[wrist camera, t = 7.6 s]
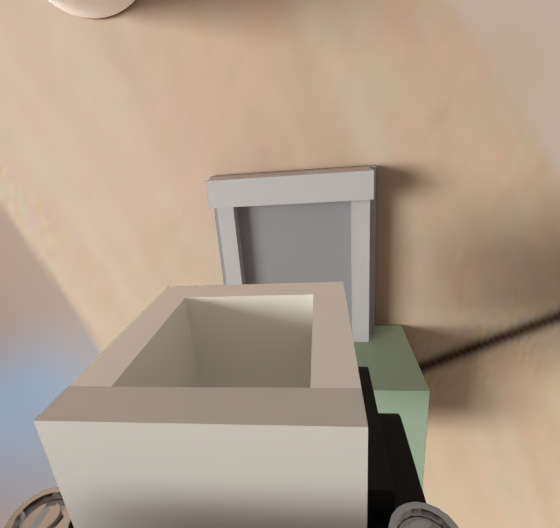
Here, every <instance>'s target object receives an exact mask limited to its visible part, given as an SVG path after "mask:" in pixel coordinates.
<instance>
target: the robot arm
mask: <svg viewBox="0 0 560 528" xmlns="http://www.w3.org/2000/svg"><path fill="white" fill-rule="evenodd" d="M358 371H359V377H360V383H361V388H362V394H363V400H364V406H365V412H366V417H367V423H368V490H367V528H458V526H457V525H456V523H455V522H454V521H453V520H452V519H451V518H450V517H449V516H448V515H447V514H445V513H444V512H443V511H441V510H440V509H439V508H437V507H434V506H432V505H430V504H427V503H426V501H425V497H424V494H423V491H422V487H421V484H420V480H419V477H418V474H417V470H416V467H415V463H414V460H413V457H412V453H411V450H410V446H409V443H408V440H407V436H406V433H405V429H404V426H403V423H402V419H401V417H400V415H399V413H378V410H377V405H376V401H375V396H374V391H373V387H372V382H371V377H370V373H369V368H368V367H358ZM4 528H74V527H73V524H72V522H71V519H70V516H69V514H68V511H67V508H66V506H65V503H64V500H63V498H62V495H61V493H60V490H59V487H54V488H50V489H47V490H44V491H42V492H40V493H38V494H36V495H34V496H33V497H31V498H30V499H29V500H27V501H26V502H25V503H23V504H22V505H21V506H20V507H19V508H18V509H17V510H16V511H15V512H14V513H13V515H12V516H11V518H10V519H9V521H8V522H7V524H6V526H5V527H4Z"/></svg>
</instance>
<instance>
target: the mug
mask: <svg viewBox="0 0 560 528" xmlns="http://www.w3.org/2000/svg"><path fill="white" fill-rule="evenodd" d="M48 1H49V2H51V3H52V4H53V5H55V6H56V7H58V8H60V9H61V10H63V11H65V12H67V13H70V14H72V15H75V16H79V17H83V18H91V19H97V18H105V17H109V16H112V15H115V14H117V13H119V12H121V11H123V10H124V9H126V8H127V7H129V6H130V5H131V4H132V3H133V2H134V1H135V0H48Z"/></svg>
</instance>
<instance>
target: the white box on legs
mask: <svg viewBox="0 0 560 528" xmlns="http://www.w3.org/2000/svg"><path fill="white" fill-rule="evenodd" d="M34 423H35V426H36V429H37V431H38V434H39V437H40V439H41V442H42V444H43V447H44V450H45V453H46V455H47V458H48V461H49V463H50V466H51V469H52V471H53V474H54V477H55V479H56V482H57V485H58V487H59V490H60V493H61V495H62V498H63V500H64V503H65V506H66V508H67V511H68V514H69V516H70V519H71V522H72V524H73V527H74V528H367V490H368V423H367V417H366V412H365V406H364V400H363V394H362V388H361V383H360V377H359V371H358V365H357V359H356V353H355V348H354V342H353V336H352V330H351V324H350V319H349V313H348V307H347V301H346V295H345V290H344V284H343V282H311V283H277V284H242V285H207V286H173V287H167V288H166V289H165V290H164V291H163V292H162V293H161V294H160V295H159V296H158V297H157V298H156V299H155V300H154V301H153V302H152V303H151V304H150V305H149V306H148V307H147V308H146V309H145V310H144V311H143V312H142V313H141V314H140V315H139V316H138V317H137V318H136V319H135V320H134V321H133V322H132V323H131V324H130V325H129V326H128V327H127V328H126V329H125V330H124V331H123V332H122V333H121V334H120V335H119V336H118V337H117V338H116V339H115V340H114V341H113V342H112V343H111V344H110V345H109V346H108V347H107V348H106V349H105V350H104V351H103V352H102V353H101V354H100V355H99V356H98V357H97V358H96V359H95V360H94V361H93V362H92V363H91V364H90V365H89V366H88V367H87V368H86V369H85V370H84V371H83V372H82V373H81V374H80V375H79V376H78V377H77V378H76V379H75V380H74V381H73V382H72V383H71V384H70V385H69V386H68V387H67V388H66V389H65V390H64V391H63V392H62V393H61V394H60V395H59V396H58V397H57V398H56V399H55V400H54V401H53V402H52V403H51V404H50V405H49V406H48V407H47V408H46V409H45V410H44V411H43V412H42V413H41V414H40V415H39V416H38V417H37V418H36V419H35V420H34Z"/></svg>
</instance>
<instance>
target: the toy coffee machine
mask: <svg viewBox="0 0 560 528" xmlns="http://www.w3.org/2000/svg"><path fill="white" fill-rule="evenodd" d="M205 183H206V190H207V197H208V205H209V208H214V212H215V220H216V227H217V235H218V242H219V250H220V258H221V265H222V273H223V280H224V285H242V284H277V283H311V282H343V284H344V290H345V295H346V301H347V307H348V313H349V319H350V324H351V330H352V336H353V342H354V348H355V353H356V359H357V365H358V367H368V368H369V373H370V377H371V382H372V387H373V391H374V396H375V401H376V405H377V410H378V413H399V415H400V417H401V419H402V423H403V426H404V429H405V433H406V436H407V440H408V443H409V446H410V450H411V453H412V457H413V460H414V463H415V467H416V470H417V474H418V477H419V480H420V484H421V487H422V489H423V476H424V462H425V449H426V436H427V423H428V409H429V396H430V390H429V388H428V385H427V383H426V381H425V379H424V376H423V374H422V372H421V369H420V367H419V365H418V362H417V360H416V358H415V355H414V353H413V351H412V349H411V346H410V344H409V342H408V339H407V337H406V335H405V332H404V330H403V328H402V326H401V325H375V265H376V197H377V166H375V165H366V166H351V167H336V168H321V169H306V170H291V171H276V172H261V173H246V174H231V175H216V176H212V177H210V180H207V181H205Z"/></svg>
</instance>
